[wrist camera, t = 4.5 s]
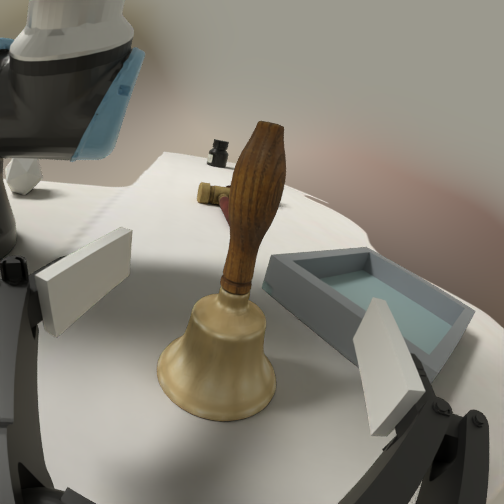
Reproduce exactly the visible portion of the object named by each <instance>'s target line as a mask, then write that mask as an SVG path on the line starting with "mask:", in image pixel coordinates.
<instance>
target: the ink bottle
mask: <svg viewBox="0 0 504 504" xmlns="http://www.w3.org/2000/svg"><path fill="white" fill-rule="evenodd" d="M228 143H229V142H226V141H221V140H216V139H214V143H213V147H214V148H213V149H211V150H210V151H209V155H208V160H207V164H208V165H211V166H216V167H226V163H227V158H228V153H227V151H226V150H227V147H228Z"/></svg>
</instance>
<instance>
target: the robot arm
mask: <svg viewBox="0 0 504 504" xmlns="http://www.w3.org/2000/svg"><path fill="white" fill-rule="evenodd" d="M124 2H125V0H29V7H28V16H27V25H26V26H25V28H24V30H23V31H22V32H21V33H20V34H19V36H18V37H17V38H16V39H15V40H13V39H9V38H0V259H1V258H3V257H4V256H5V255H6V254H8V253H9V252H10V251H11V250H12V248H13V247H14V245H15V243H16V239H17V237H16V223H15V219H14V216H13V213H12V209H11V206H10V203H9V200H8V196H7V193H6V189H5V186H4V182H3V158H28V159H54V160H70V161H71V162H73V161H76V160H99V159H102V158H105V157H106V156H108V155H109V154H110V153H111V152H112V151H113V149H114V147H115V144H116V142H117V138H118V134H119V131H120V128H121V125H122V122H123V119H124V115H125V112H126V108H127V106H128V103H129V100H130V96H131V94H132V91H133V88H134V85H135V82H136V80H137V76H138V74H139V71H140V68H141V65H142V62H143V60H144V57H145V53H144V52H143V51H142V50H139V49H138V48H133V49H131V44H132V39H133V35H134V29H133V27H132V26H131V25H130V24H129V22H128V21H127V20H126V19H125V18H124V16H123V15H122V10H123V6H124ZM131 242H132V230H130V229H126V228H123V227H120V228H118V229H116V230H114V231H112V232H110V233H108V234H106V235H105V236H103V237H101V238H99V239H97V240H95V241H93V242H91V243H89V244H88V245H86V246H84V247H82V248H80V249H79V250H77V251H75V252H73V253H71V254H70V255H67V256H63V257H60V258H58V259H56V260H54V261H52V263H49V264H47V265H46V266H44V267H42V268H40V269H39V270H37V271H35V272H34V273H32V274H30V275H29V276H28V269H27V261H26V259H25V258H24V257H22V256H9V257H6V258H4V259H3V260H2V261H1V262H0V270H1V275H2V279H0V504H96V503H94V502H92V501H90V500H89V499H87V498H85V497H83V496H82V495H80V494H78V493H77V492H75V491H73V490H72V489H70V488H68V487H67V489H66V491H61V490H57V489H54V486H53V483H52V480H51V477H50V475H49V473H48V471H47V468H46V465H45V461H44V455H43V448H42V441H41V433H40V423H39V411H38V393H37V354H38V335H39V329H38V325H37V324H38V323H39V322H41V321H42V320H43V324H44V329H45V331H46V332H48V333H49V334H51V335H53V336H54V337H56V338H57V337H58V336H60V335H61V334H62V333H63V332H64V331H65V330H66V329H67V328H68V327H69V326H71V325H72V324H73V323H74V322H75V321H76V320H77V319H78V318H80V317H81V316H82V315H83V314H84V313H85V312H86V311H88V310H89V309H90V308H91V307H92V306H93V305H94V304H96V303H97V302H98V301H99V300H100V299H101V298H103V297H104V296H105V295H106V294H107V293H109V292H110V291H111V290H112V289H113V288H114V287H116V286H117V285H118V284H119V283H120V282H122V281H123V280H124V279H125V278H127V277H128V276H129V275H130V258H131ZM353 342H354V346H355V351H356V355H357V360H358V365H359V370H360V375H361V380H362V386H363V391H364V397H365V402H366V408H367V414H368V420H369V427H370V434H371V436H388V435H389V434H390V433H391V432H392V430H393V429H394V428H395V430H396V434H397V435H396V436H395V437H394V438H393V439H392V440H391V441H390V442H389V443H388V444H387V445H386V446H385V447H384V448H383V449H382V450H383V453H382V454H381V455H380V456H379V458H378V459H377V460H376V461H375V463H374V464H373V465H372V466H371V468H370V469H369V470H368V471H367V472H366V473H365V475H364V476H363V477H362V478H361V479H360V480H359V481H358V483H357V484H356V485H355V486H354V487H353V488H352V489H351V490H350V491H349V492H348V493H347V494H346V496H345V497H344V498H343V499H342V500H341V501H340V502H339V503H338V504H408V503H409V501H410V500H411V498H412V496H413V495H414V493H415V492H416V490H417V488H418V486H419V485H420V483H421V481H422V484H421V487H420V491H419V494H418V497H417V501H416V504H486V498H487V488H488V475H489V425H488V421H487V419H486V417H485V415H483V413H481V412H479V411H477V410H470V411H469V412H468V413H467V414H466V415H465V416H464V417H461V416H458V415H455V414H453V412H452V409H451V407H450V405H449V404H448V403H447V402H446V401H445V400H443V399H441V398H439V397H436V396H435V394H434V391H433V389H432V386H431V384H430V381H429V379H428V377H427V374H426V372H425V371H424V367H423V365H422V363H421V361H420V360H419V359H418V358H417V356H416V355H415V354H413V353H410V352H409V350H408V348H407V345H406V343H405V341H404V339H403V336H402V334H401V332H400V330H399V328H398V325H397V323H396V321H395V319H394V317H393V315H392V313H391V311H390V309H389V307H388V305H387V303H386V301H385V300H382V299H379V298H375V297H373V298H372V300H371V302H370V305H369V307H368V309H367V311H366V313H365V315H364V317H363V319H362V321H361V324H360V326H359V328H358V330H357V332H356V334H355V336H354V338H353Z"/></svg>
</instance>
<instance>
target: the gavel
mask: <svg viewBox="0 0 504 504" xmlns="http://www.w3.org/2000/svg"><path fill="white" fill-rule="evenodd" d="M229 193H230V188H226V187H220V186H210V183H203V182H201V183H200V185H199V189H198V194H197V201H198V203H204V204H207V203H211V204H217V205H220V207H221V209H222V212H223V214H224V216H225V218H226V220H227V222H228V224H229V211H228V206H229ZM229 226H230V224H229Z"/></svg>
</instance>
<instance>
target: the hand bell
mask: <svg viewBox="0 0 504 504" xmlns="http://www.w3.org/2000/svg"><path fill="white" fill-rule="evenodd" d="M285 176H286V160H285V150H284V127H283V126H281V125H278V124H275V123H270V122H264V121H259V122H258V123H257V126H256V128H255V130H254V132H253V134H252V136H251V138H250V139H249V141H248V143H247V144H246V146H245V148H244V149H243V151H242V153H241V155H240V156H239V159H238V161H237V163H236V166H235V169H234V172H233V177H232V182H231V187H230V193H229V206H228V211H229V224H230V243H229V250H228V254H227V258H226V262H225V266H224V270H223V275H222V277H221V281H220V284H221V287H220V291H219V294H211V295H208V296H205V297H203V298H201V299H200V300H199V301H197V302H196V304H195V305H194V307H193V309H192V312H191V316H190V320H189V323H188V326H187V329H186V331H185V333H184V335H183V336H181V337H179V338H177V339H175V340H174V341H172V342H171V343H170V344H169V345H168V346H167V347H166V348H165V349H164V351H163V352H162V354H161V355H160V357H159V360H158V364H157V376H158V380H159V383H160V386H161V387H162V389H163V391H164V393H165V394H166V395H167V396H168V397H169V398H170V399H171V401H173V402H174V403H175V404H176V405H178V406H179V407H180V408H182V409H183V410H185V411H187V412H189V413H191V414H193V415H196V416H198V417H201V418H205V419H210V420H215V421H233V420H239V419H244V418H247V417H250V416H252V415H254V414H256V413H258V412H260V411H261V410H263V409H264V408H265V407H266V406H267V405H268V403H269V402H270V401H271V399H272V397H273V395H274V393H275V389H276V377H275V373H274V369H273V367H272V365H271V363H270V361H269V360H268V358H267V357H266V356H265V354H264V352H263V344H264V335H265V329H266V318H265V315H264V314H263V312H262V310H261V309H260V308H259V307H258V306H257V305H256V304H254V303H253V302H251V301H249V300H248V299H249V296H250V289H251V285H252V284H251V280H252V278H253V273H254V268H255V262H256V257H257V253H258V249H259V246H260V244H261V241H262V239H263V237H264V235H265V234H266V232H267V230H268V229H269V227H270V226H271V223H272V221H273V219H274V217H275V215H276V212H277V209H278V207H279V204H280V201H281V197H282V193H283V189H284V184H285Z"/></svg>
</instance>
